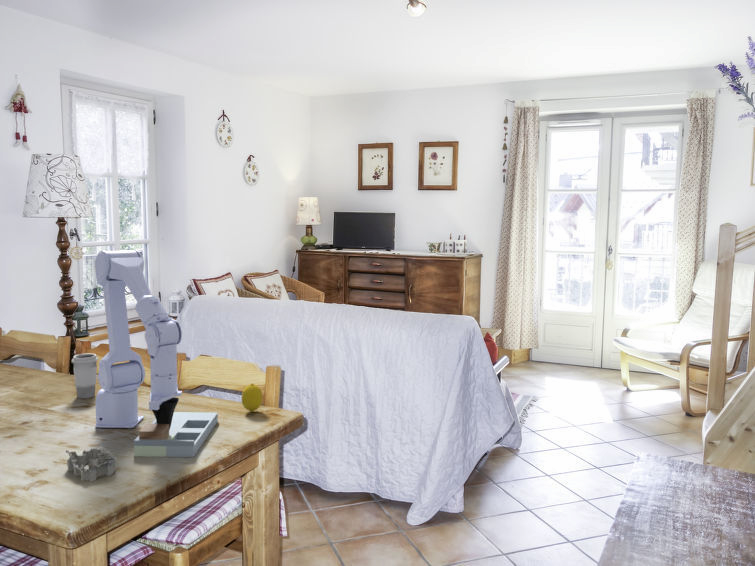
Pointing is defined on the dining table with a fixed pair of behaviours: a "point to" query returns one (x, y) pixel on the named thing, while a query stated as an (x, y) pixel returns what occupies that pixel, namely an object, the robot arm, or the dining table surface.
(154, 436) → the walnut block
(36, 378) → the dining table surface
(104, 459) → the grey toy castle
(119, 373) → the robot arm
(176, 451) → the trap tray
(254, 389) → the lemon
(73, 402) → the dining table surface
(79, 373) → the cup
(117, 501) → the dining table surface
